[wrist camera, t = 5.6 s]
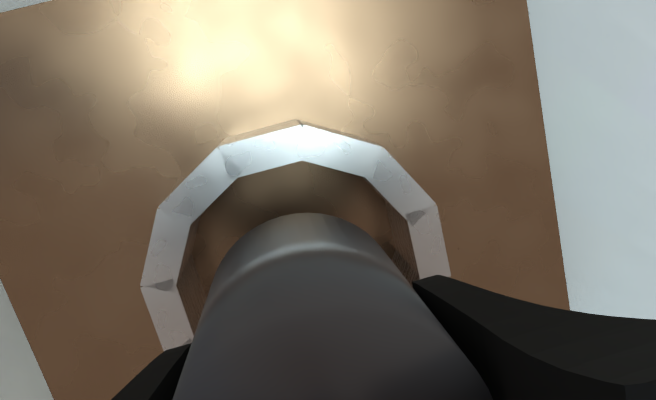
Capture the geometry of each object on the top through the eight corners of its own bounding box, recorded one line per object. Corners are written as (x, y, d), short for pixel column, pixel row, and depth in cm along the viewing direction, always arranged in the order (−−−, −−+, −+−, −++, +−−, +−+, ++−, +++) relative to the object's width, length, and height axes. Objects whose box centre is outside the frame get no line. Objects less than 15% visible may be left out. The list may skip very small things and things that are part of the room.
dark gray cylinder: (238, 413, 13) (211, 660, 7) (184, 241, 12) (102, 367, 6) (415, 364, 13) (525, 562, 8) (377, 191, 12) (472, 267, 7)
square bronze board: (125, 529, 20) (93, 625, 17) (-88, 41, 16) (-199, 24, 12) (571, 391, 22) (634, 452, 18) (500, -100, 17) (565, -154, 13)
